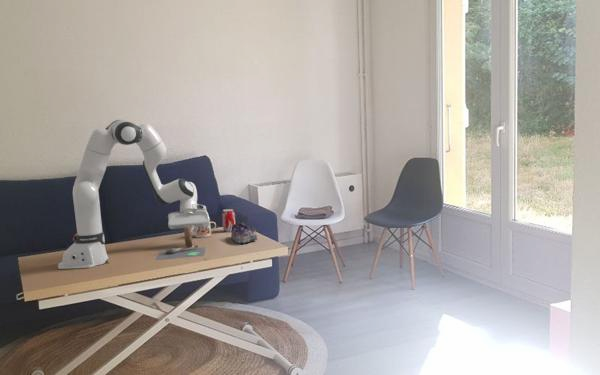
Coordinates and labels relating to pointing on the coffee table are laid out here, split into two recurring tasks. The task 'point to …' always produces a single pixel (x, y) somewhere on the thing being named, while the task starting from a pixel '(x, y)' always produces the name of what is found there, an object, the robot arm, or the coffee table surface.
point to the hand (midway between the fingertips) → (189, 233)
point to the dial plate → (182, 253)
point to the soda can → (228, 219)
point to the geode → (243, 233)
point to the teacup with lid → (204, 231)
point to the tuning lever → (187, 241)
